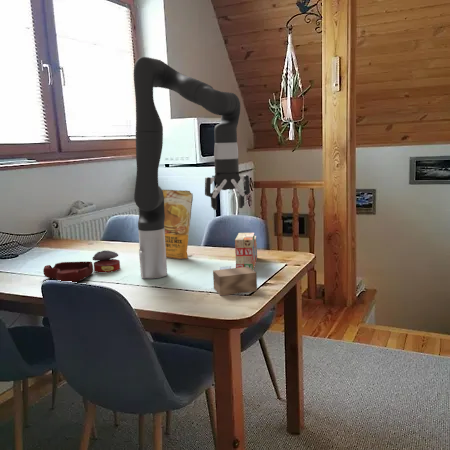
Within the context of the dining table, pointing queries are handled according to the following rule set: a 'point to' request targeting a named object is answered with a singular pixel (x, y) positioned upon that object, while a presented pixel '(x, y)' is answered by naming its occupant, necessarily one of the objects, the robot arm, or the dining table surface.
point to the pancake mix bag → (177, 222)
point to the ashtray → (69, 271)
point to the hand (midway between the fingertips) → (228, 208)
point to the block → (225, 267)
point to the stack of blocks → (246, 250)
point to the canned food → (106, 261)
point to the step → (235, 280)
